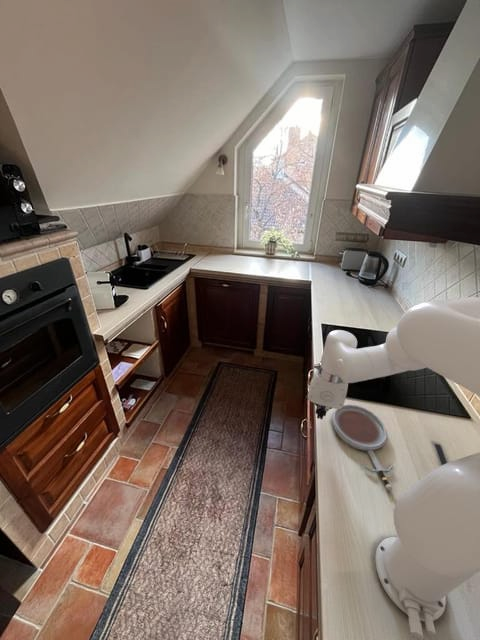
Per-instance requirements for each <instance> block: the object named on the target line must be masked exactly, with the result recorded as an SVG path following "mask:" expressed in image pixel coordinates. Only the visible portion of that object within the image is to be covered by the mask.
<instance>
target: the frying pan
mask: <svg viewBox="0 0 480 640" xmlns="http://www.w3.org/2000/svg"><path fill="white" fill-rule="evenodd" d="M331 420H332V421H331V422H332V424H333V428H334V431H335V432H336V434H337V436H338V437H339V438H340V439H341V440H342V441H343V442H344V443H346V444H347V445H349V446H350V447H351V448H355V449H356V450H360V451H366V452H367V453H368V455H369V457H370V458H371V461H372V463H373V465H374V467H375V469H372V468H370V467H369V466H367V465H364V466H363V468H364V469H366V470H368V471H369V472H371V473H379V475H380V477H381V480H382V481H383V483H384V485H385V490H386V491H388V492H391V491H393V486H392V485H391V484H390V483H389V481H388V479H387V477H386V475H385V473H389V472H390V471H391V470H392V469H393V467H394V465H390V466H389V468H386V469H383V467H382V465H381V463H380V461H379V460H378V458H377V456H376V454H375V452H374V451H375V450H377V449H380V448H382V447H383V446H384V445H386V442H387V440H388V432H387V429H386V426H385V424H384V422H383V421H382V420H381V419H380V418H379V416H377V415H376V414H375V413H374V412H373V411H371V410H370V409H367V408H366V407H364V406H360V405H357V404H351V403H349V404H344V405H343V407H342V409H334V411H333V412H332V416H331Z"/></svg>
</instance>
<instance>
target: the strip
mask: <svg viewBox="0 0 480 640" xmlns="http://www.w3.org/2000/svg"><path fill="white" fill-rule="evenodd" d="M434 446H435V449H436V452H437V454H438V455H437V456H438V457H439V460H440V463H441V465H444V464H446V463H448V461H447V459H446V455H445V454H444V452H443V449H442V446H441V445H440V444H438V443H434Z"/></svg>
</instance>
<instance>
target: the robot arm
mask: <svg viewBox="0 0 480 640" xmlns="http://www.w3.org/2000/svg"><path fill="white" fill-rule="evenodd" d="M357 347H358V340H357V338H356V336H355V335H354V334H353V333H351V332H349V331H346V330H342V329H335V330H332V331H330V332H329V333H328V334H327V335H326V339H325V342H324V347H323V351H322V355H321V359H320V362H319V363H314V365H313V369H315V371H314V373H313V375H312V377H311V381H310V383H309V387H308V391H307V393H306V397H305V399H306V400H308V402H310V403H313V404H314V405H315V407H316V408H315V414H316V418H317V419H319V420H323V418H324V417H326V415H327V412H329V411H330V410H332V409H334V410H336V409H342V407H343V405H345V401H346V398H347V394H348V389H349V384H354V383H358V382H364V381H368V380H369V381H370V380H374V379H378V378H385V377H389V376H392V375H396V374H401V373H405V372H409V371H413V372H414V371H419V370H423V369H429V370H431V371H432V372H434V373H436V374H438V375H440V376H442V377H443V378H445V379H447V380H449V381H450V382H452V383H455V384H457V385H458V386H460V387H462V388H464V389H466V390H468V391H469V392H471V393H473V394H475V395H477V396H479V397H480V297H478V296H465V297H455V298H447V299H446V298H445V299H439V300H432V301H431V300H429V301H424V302H421V303H418V304H415V305H413V306H412V307H410V308H409V309H407V310H406V311H405V312H404V313H403V314H402V315H401V317H400V318H399V320H398V322H397V326H395V327H393V328H392V329H390V331H389V332H388V333H387V335H386V337H385V342H384V343H382V344H378V345H374V346H366V347H365V346H364V347H360V348H357ZM393 524H394V528H395V533H396V534H397V537H396V536H392V537H391V536H390V537H386V538H384V539H382V540H381V542H380V543H379V544H378V546H377V548H376V550H375V557H374V563H375V570H376V573H377V576H378V579H379V581H380V583H381V585H382V587H383V589H384V591H385V593H386V594H387V595H388V598H390V600H391V601H392V602H393V603H394V604H395V605H396V607H397V608H398V609H400V610H401V611H402V612H403V613H404V614H406V615H407V616H408V625H409V631H410V635H412V637H415V638H417V639H421V640H423V639H424V638H425V637H424V632H423V627H422V622H424V625H425V630H426V633H427V634H429V635H432V636H436V635H437V631H436V628H435V624H434V621H436V620H438V619H439V618H440V617H441V616H443V613H444V612H445V610H446V605H447V595H450V593H452V592H453V591H454V590H455V589H457V588H458V587H460V586H461V585H462V584H464V583H465V582H467V581H468V580H470V579H471V578H472V577H474V576H475V575H477V574H478V573H479V572H480V451H479V452H476V453H473V454H470V455H467V456H464V457H460V458H458V459H455V460H451V461H449V462H447V463H446V464H444V465H442V464H441V465H439V466H437V467H435V468H434V469H433V470H431V471H429V472H428V473H426V474H425V475H424V476H422V477H421V478H420V479H419V480H418V481H417V482H416V483H415V484H414V485H412V486H411V487H410V488H409V489H407V490H406V491H405V492H404V493H403V494H402V495H401V496H399V497H398V499H397V500H396V503H395V504H394V507H393Z"/></svg>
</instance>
